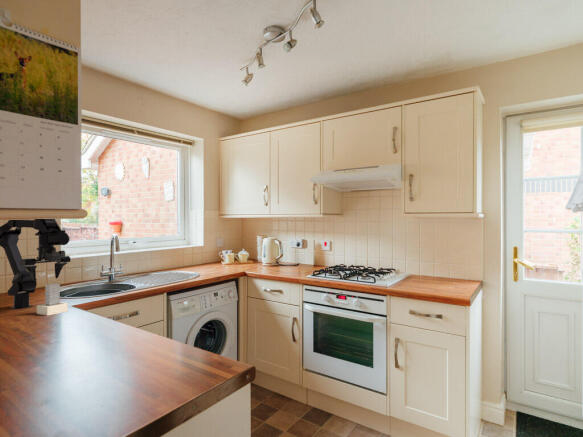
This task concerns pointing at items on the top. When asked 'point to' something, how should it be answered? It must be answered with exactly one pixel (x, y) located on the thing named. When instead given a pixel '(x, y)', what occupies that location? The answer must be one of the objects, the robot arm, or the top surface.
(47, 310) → the cream square block
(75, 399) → the top surface
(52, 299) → the grey rectangular block
